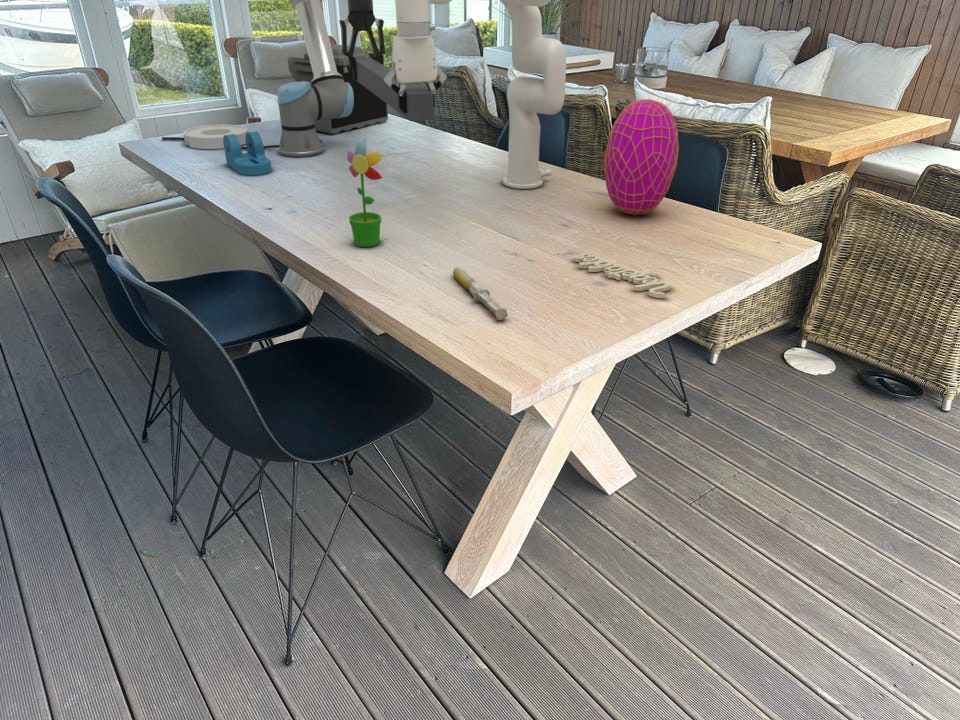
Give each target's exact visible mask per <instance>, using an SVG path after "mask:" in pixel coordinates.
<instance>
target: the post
mask: <svg viewBox="0 0 960 720" xmlns="http://www.w3.org/2000/svg"><path fill="white" fill-rule="evenodd" d="M355 59H356V73H357V80H356V81H357V82H359V83H360V84H361V85H363V86H364V87H365V88H367V89H368V90H369V91H371V92H372V93H373V94H375V95H376V96H377V97H379V98H380V99H381V100H383V101H384V102H385V103H387V106H389V107H390V108H392V109H393V110H395V111H396V112H397V113H399V114H400V115H401V116H403V117H404V118H405V119H407V120H408V121H409V122H417V121H418V122H421V121H433V120H435V107H434V102H433V93H432V92H431V91H429V90H428V88H426V87H424V86H421V85H420V84H419V83H408V84H407V85H406V88H405V91H404V96H406V107H407V113H403V112H401V109H399V103H398V94H397V93H396V92H395V91H394V90H393V89H392V88H391V87H390V86H388V85H387V84H386V83H385V82H384V78H385V76H386V75H387V74H388V73H389V71H390V70H391V69H392V68H390V67H388V66H386V65H385V64H384V65H382V64H381V63H379V62H377V61H375V60H373V59H372V58H355ZM392 82H393V83H394V84H395V85H396V86H398V83H399V82H398V81H397V80H395V79H394V78H392Z"/></svg>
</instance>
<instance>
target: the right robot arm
mask: <svg viewBox="0 0 960 720" xmlns="http://www.w3.org/2000/svg"><path fill="white" fill-rule="evenodd" d="M452 1H453V0H395V2H394V3H395V17H396V19H395V20H396V36H394V37H393V39H392V40H393V42H392V58H391V60H392V63H391V64H392V68H390V69H391V70H390V71H389V73H388V74H387V75H386V76H385V78H384V82H385V83H386V84H387V85H388V86H390V87H391V88H392V89H393V90H394V91H395V92H396V93H397V94H398V103H399V109H401V112H403V113H407V107H406V96H404V91H405V88H406V85H407V84H408V83H416V84H422V83H425V85H426V87H427V88H426V89H427V90H429V91H431V92H432V93H433V102H434V108H435V107H436V96H435V95H436V93H437V91H438V90H439V89H440V87H441V86H442V85H443V83H444V82H445V81H446V80H447V78H448V76H447V74H446V73H445V72H444V71H443V70H442V69H441V68H440V67H439V66H438V64H437V55H436V49H435V43H434V38H433V36H432V35H431V33H432V31H435V30H436V24H435V23H431V21H430V9H429V8H430V6H429V4H431V5H446V4H450V2H452ZM499 1H500V2H501V4H503V6H504V7H505V8H506V10H507V12H508V14H509V17H510V21H511V61H512V66H513V67H514V69H515V70H516V71H518V72H522V73H527V74H533V75H534V74H535V75H542V76H543V77H542V78H540V77H536V76H535V77H533V76H517V77H515V78H513V79H512V80H511V81H510V82H509V83H508V85H507V89H506V100H507V107H508V119H509V120H508V121H509V122H508V123H509V124H508V125H509V127H508V128H509V129H508V157H507V176H504V177H503V179H502V184H503V186H505V187H508V188H511V189H519V190H530V189H531V190H532V189H536V188H539V187H541V186H542V185H543V179H542V178H543V177H548V176H549V177H550V176H552V173H553V172H552V169H544V168H539V165H540V164H539V163H540V162H539V160H540V144H541V143H540V142H541V140H540V139H541V122H540V118H539V117H538V114H542V115H549V116H550V115H551V116H553V115H556V114H559V112H561V110H562V109H563V107H564V102H565V97H566V79H567V78H566V76H567V53H566V49H565V46H564V44H563V43H562V41H560V40H558V39H556V38H549V37H543V25H542V21H543V20H542V19H543V18H542V14H541V11H540V9H539V8H540V7H541V8H542V7H544V6H546V5H548V4H549V3H550V2H551V1H552V0H499ZM392 78H394V79H395V80H397V81H398V82H399V83H398V86H396V85H395V84H394V83H393V82H392Z"/></svg>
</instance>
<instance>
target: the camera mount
mask: <svg viewBox="0 0 960 720" xmlns="http://www.w3.org/2000/svg"><path fill="white" fill-rule="evenodd" d="M245 139H246V144H245V147H247V149H246V152H243V151H242V150H243V149H241V147H242V145H240V142H239V140H238V138H237V136H236V135H235V134H230V135H224V137H223V144H224V148H223V149H224V150H223V151H224V156H225V161H226V165H227V166H228V167H230V168H231V169H232V170H234V171H236V172H237V173H238V174H239V175H244V176H260V175H265V174H268V173H271V172H272V164H271V159H270V158H268V157H267V156H266V153H265V149H264V146H265V145H264V141H263V139H262V136H261V134H260V132H258V131H248V132H247V133H246V137H245Z"/></svg>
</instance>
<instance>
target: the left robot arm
mask: <svg viewBox="0 0 960 720" xmlns="http://www.w3.org/2000/svg"><path fill="white" fill-rule="evenodd" d="M289 2H290V5H291V6H292V7H294V8H295V9H296V13H297V16H298V19H299V20H298V21H299V24H300V28H301V31H302V36H303V39H304V44H305V47H306V53H308V56H309V59H310V63H311V67H312V71H313V75H314V78H313V79H312V81H311V84H310V83H309V82H306V81H301V82H296V81H293V82H289V83H284V84H283V85H280V86H279V87H278V89H277V91H276V92H277V93H276V94H277V95H276V96H277V105H278V111H279V119H280V127H281V134H280V141H279V144H269V145H264V150H266V149H276V148H277V149H278V151H279V154H280V155H281V156H284V157H291V158H304V157H306V158H307V157H313V156H317V155H320V154H321V153H323V151H324V150H323V140H322V139H320V138H319V135H318V133H317V131H316V130H315V120H324V119H333V118H338V119H339V118H341V117H347V116H349V115H350V114H351V112H352V109H353V105H354V95H353V89H352V87H351V85H350V84H349V83H347V82H344V79H343V76H342V75H341V74H339V73H338V72H337V68H336V64H335V60H334V56H333V52H332V48H331V45H332V44H331V41H330V36H329V32H328V29H327V25H326V20H325V16H324V13H323V8H322V4H321V3H322V2H323V0H289ZM347 10H348V15H347V17H346V18H343V19H339V20H338V22H339V27H340V32H341V33H340V35H341V45H342V54H343V55H345V56H348V62H349V68H352V71H353V79H354V80H357V73H356V59H355V57H353V53H354V48H355V47H356V43H357V38H358V35H359V32H366V34H367V36H368V39H369V43H370V45H371V48H372V50H373V51H372V52H373V54H375V56H372V57H373V60H375V61H377V62H379V63H380V56H381V55H386V46H385V36H384V29H383V27H384V24H385V21H384V19H382V18H377V17H376V16H375V14H374V0H347ZM374 23H375V26H376V28H377V37H378V45H377V42H376V39H375V35H374V32H373V29H372V27H373V26H374ZM349 25H350V26H351V27H352V30H351V36H350V41H349V45H348V34H347V30H348V29H347V27H348V26H349ZM347 46H349V50H348V52H347ZM378 46H379V48H378ZM311 85H312V86H311ZM161 140H163V141H185V140H184V137H177V136H162V137H161ZM241 150H247V147H246V146H241Z"/></svg>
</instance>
